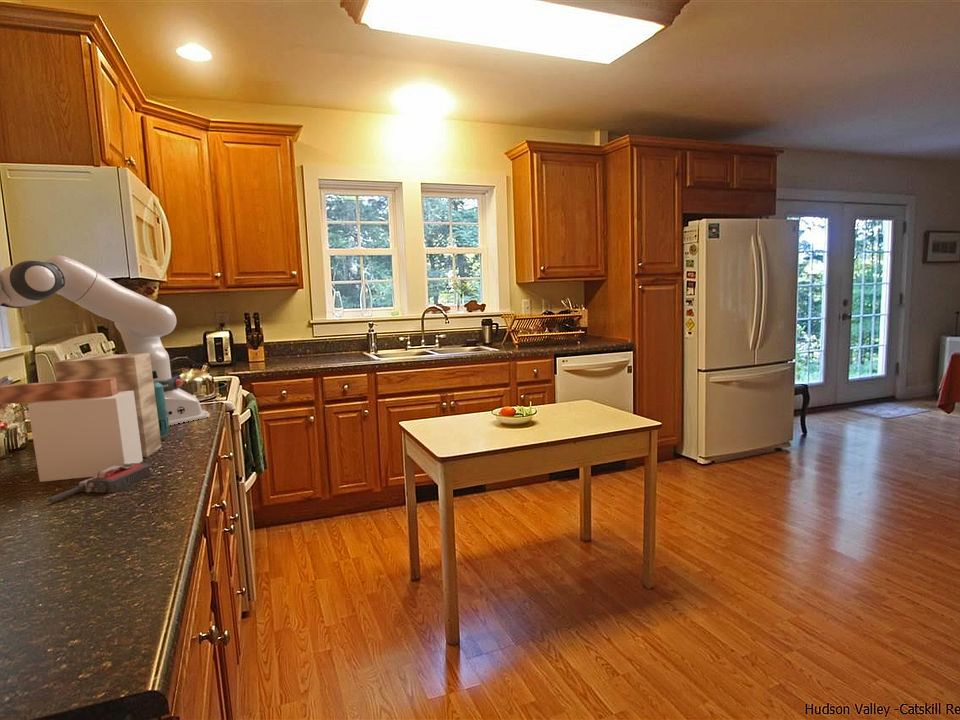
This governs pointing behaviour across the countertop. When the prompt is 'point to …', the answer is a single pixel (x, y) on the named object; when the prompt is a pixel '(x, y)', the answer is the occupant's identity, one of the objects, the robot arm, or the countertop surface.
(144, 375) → the stand
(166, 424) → the beverage bottle
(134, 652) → the countertop surface
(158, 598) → the countertop surface
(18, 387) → the stick
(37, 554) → the countertop surface
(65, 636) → the countertop surface
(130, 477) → the walkie-talkie
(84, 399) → the plain white box
